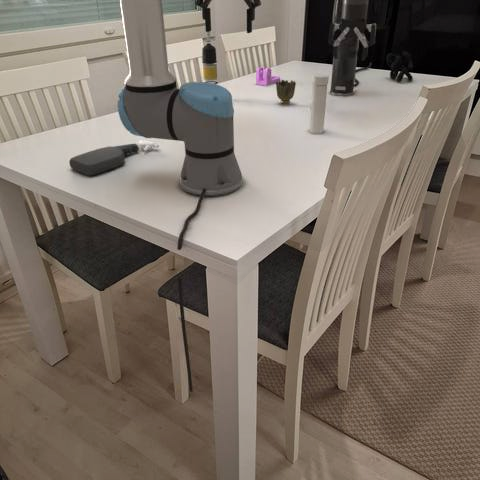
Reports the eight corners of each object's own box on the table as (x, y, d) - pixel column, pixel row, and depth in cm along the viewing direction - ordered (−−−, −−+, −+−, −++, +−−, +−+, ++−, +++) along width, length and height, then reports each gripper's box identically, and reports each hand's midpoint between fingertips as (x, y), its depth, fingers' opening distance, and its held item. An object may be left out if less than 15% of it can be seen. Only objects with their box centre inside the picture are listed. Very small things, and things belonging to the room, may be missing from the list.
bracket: (266, 85, 195) (266, 69, 192) (256, 84, 198) (256, 67, 195) (282, 80, 204) (282, 64, 200) (272, 78, 207) (272, 62, 203)
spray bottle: (67, 168, 120) (139, 144, 136) (91, 178, 114) (163, 151, 130) (65, 157, 118) (137, 134, 134) (89, 167, 112) (162, 142, 128)
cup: (272, 105, 169) (272, 83, 165) (279, 100, 174) (280, 79, 170) (290, 107, 166) (291, 85, 162) (297, 102, 171) (298, 80, 167)
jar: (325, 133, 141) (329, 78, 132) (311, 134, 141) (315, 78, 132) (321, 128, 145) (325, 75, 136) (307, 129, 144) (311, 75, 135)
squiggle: (400, 92, 202) (376, 71, 205) (417, 76, 202) (392, 56, 205) (405, 81, 191) (380, 59, 194) (423, 64, 191) (397, 42, 194)
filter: (220, 99, 177) (217, 15, 161) (206, 100, 176) (202, 16, 160) (215, 96, 182) (212, 14, 166) (202, 97, 180) (197, 14, 164)
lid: (330, 84, 133) (330, 76, 132) (314, 85, 132) (314, 77, 131) (325, 81, 137) (326, 73, 136) (310, 81, 137) (310, 74, 135)
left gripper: (272, -51, 127) (270, 31, 138) (192, -49, 134) (197, 29, 145) (264, -51, 121) (263, 34, 132) (181, -49, 128) (187, 32, 139)
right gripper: (381, 1, 135) (373, 58, 144) (334, 0, 139) (329, 56, 148) (378, 3, 129) (370, 62, 138) (329, 2, 133) (324, 60, 142)
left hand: (228, 32), depth 139 cm, fingers open, 13 cm apart
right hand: (349, 59), depth 143 cm, fingers open, 8 cm apart
